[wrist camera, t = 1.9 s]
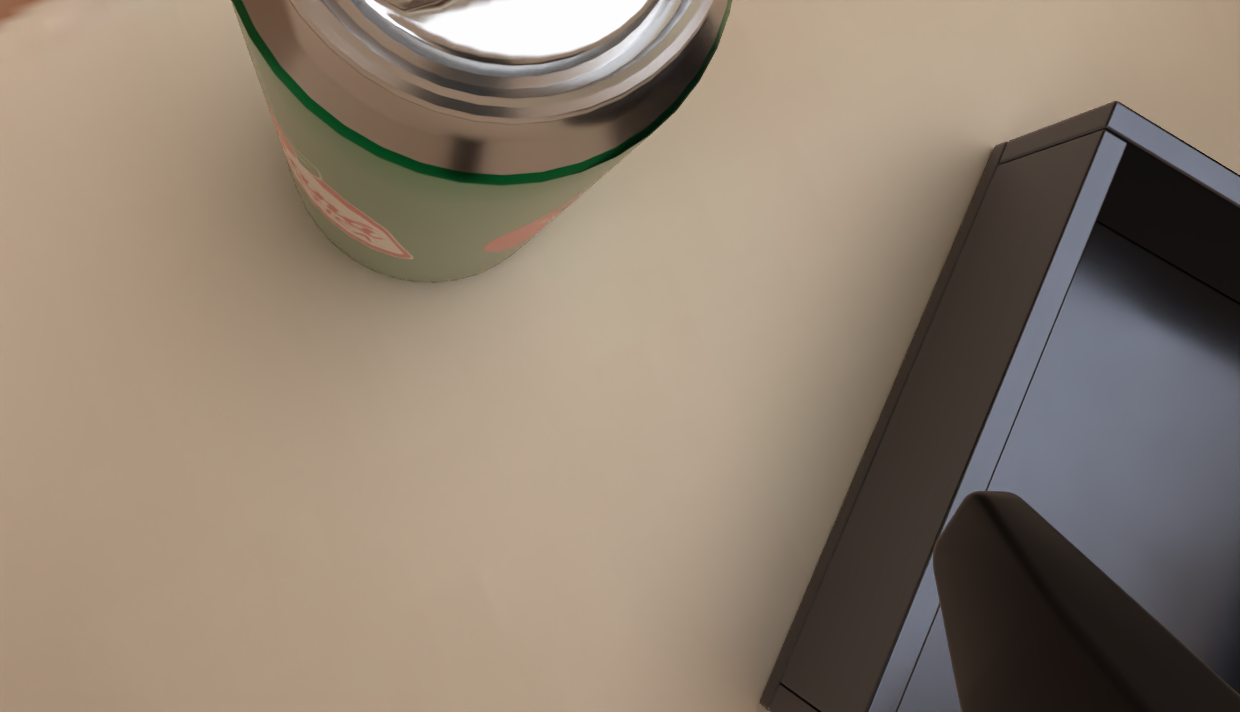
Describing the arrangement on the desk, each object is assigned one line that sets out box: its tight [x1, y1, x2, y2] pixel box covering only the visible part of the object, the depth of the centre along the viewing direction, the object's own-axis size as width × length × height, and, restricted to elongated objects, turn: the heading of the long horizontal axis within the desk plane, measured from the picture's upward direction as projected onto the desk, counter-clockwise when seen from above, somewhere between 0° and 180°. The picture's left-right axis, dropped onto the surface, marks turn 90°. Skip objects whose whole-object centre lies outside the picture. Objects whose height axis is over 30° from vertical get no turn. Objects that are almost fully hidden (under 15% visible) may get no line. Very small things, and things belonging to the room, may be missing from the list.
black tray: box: [760, 101, 1240, 712], centre depth 22 cm, size 13×13×4 cm
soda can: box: [231, 0, 732, 283], centre depth 15 cm, size 5×5×12 cm
